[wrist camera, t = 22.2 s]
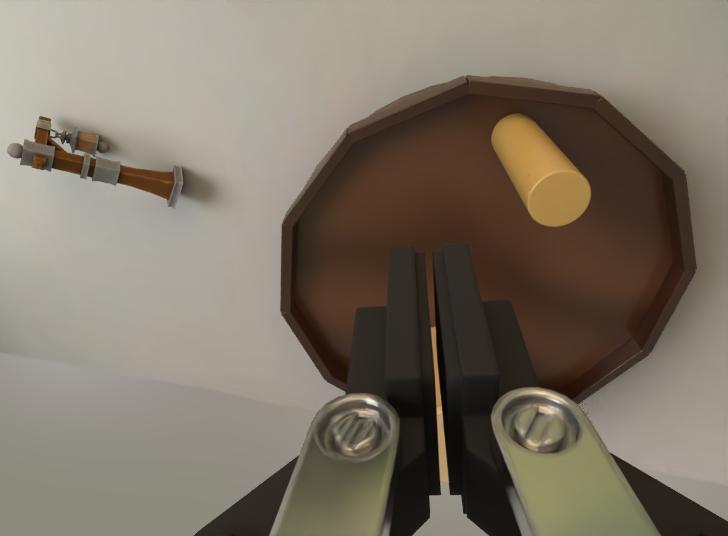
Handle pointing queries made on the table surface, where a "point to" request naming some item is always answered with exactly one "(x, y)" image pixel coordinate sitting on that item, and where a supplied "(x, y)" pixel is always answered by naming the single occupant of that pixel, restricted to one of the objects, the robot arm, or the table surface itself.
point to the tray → (498, 224)
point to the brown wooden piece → (92, 162)
